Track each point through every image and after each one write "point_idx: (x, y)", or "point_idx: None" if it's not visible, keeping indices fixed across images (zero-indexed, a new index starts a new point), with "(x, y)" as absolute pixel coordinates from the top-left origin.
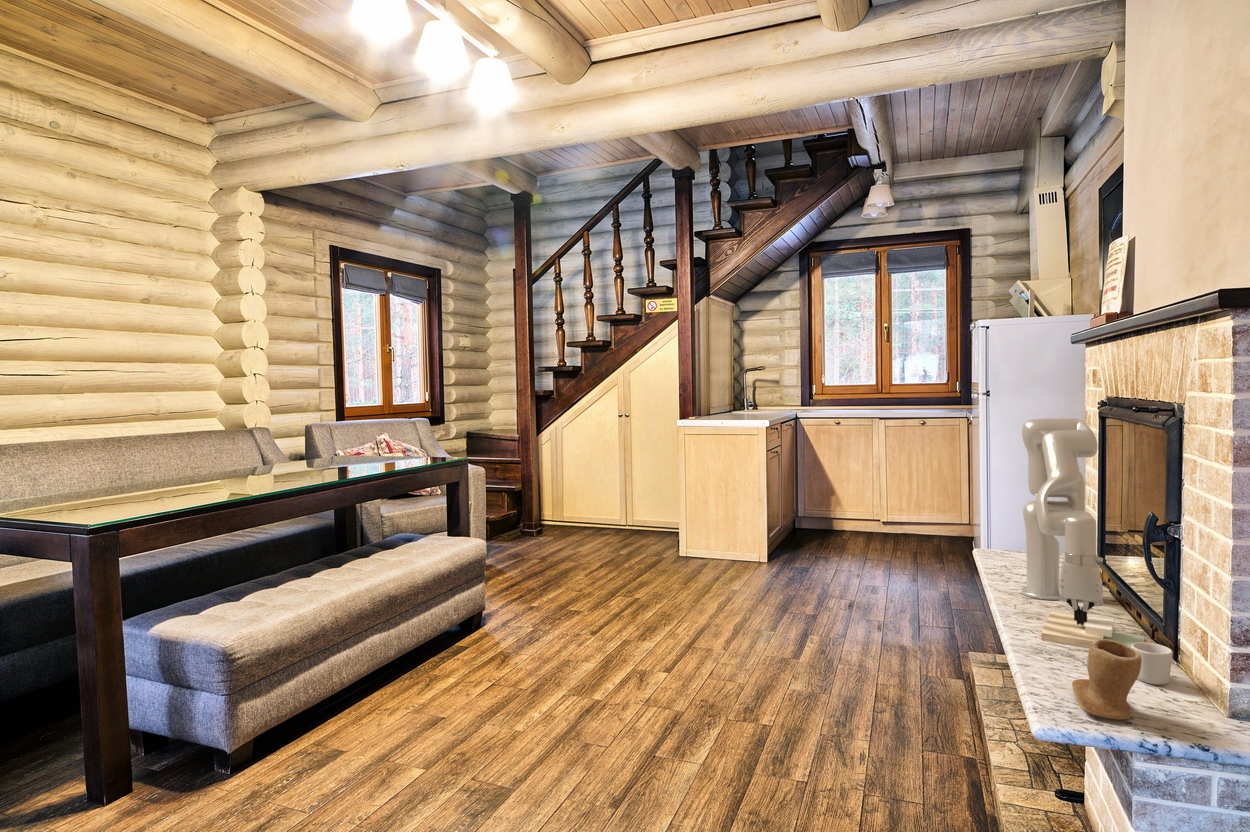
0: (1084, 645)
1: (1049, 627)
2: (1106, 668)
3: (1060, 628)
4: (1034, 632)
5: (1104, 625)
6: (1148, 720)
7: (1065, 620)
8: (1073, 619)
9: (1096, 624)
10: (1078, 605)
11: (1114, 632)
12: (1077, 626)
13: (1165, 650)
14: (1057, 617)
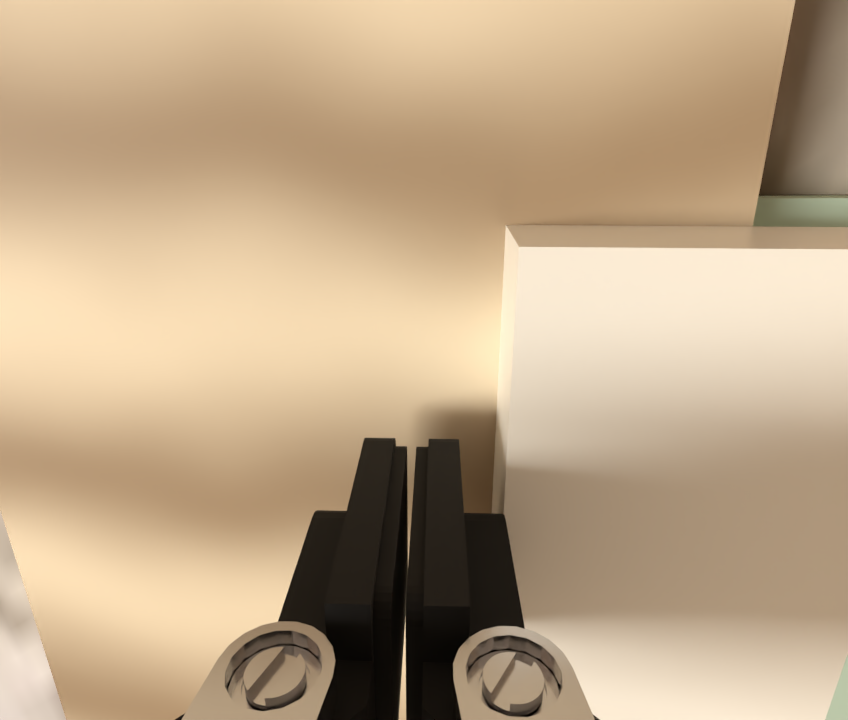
0: None
1: (105, 660)
2: None
3: (215, 642)
4: (10, 603)
5: (744, 643)
6: None
7: (175, 269)
8: (266, 128)
9: (635, 647)
10: (329, 704)
11: (826, 215)
12: None
13: None
14: (24, 163)
